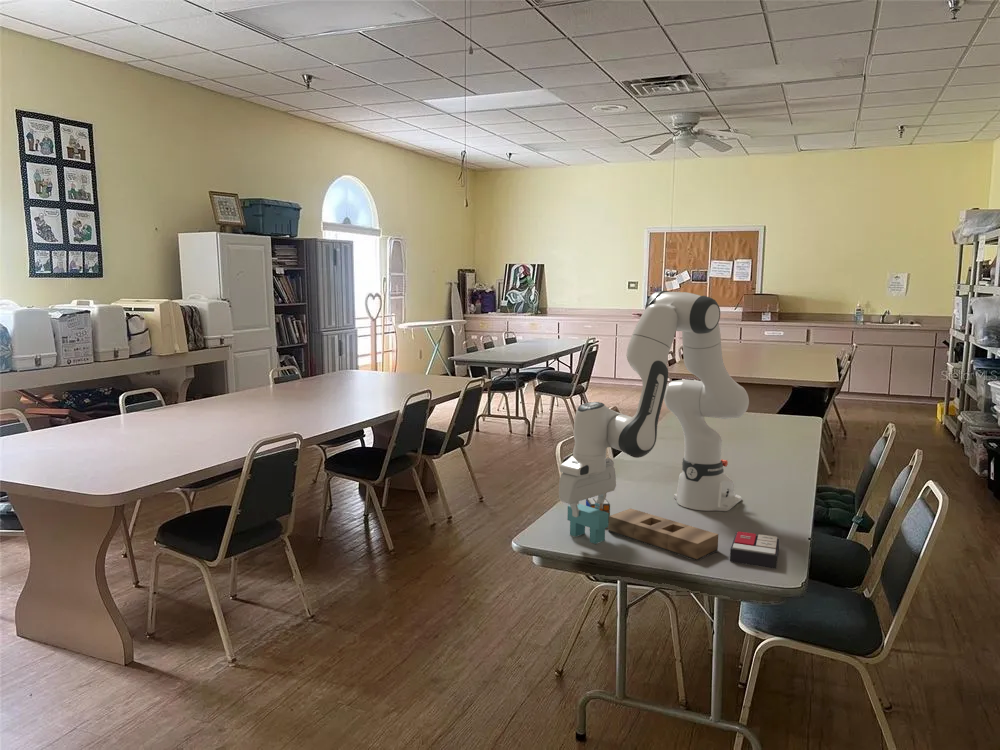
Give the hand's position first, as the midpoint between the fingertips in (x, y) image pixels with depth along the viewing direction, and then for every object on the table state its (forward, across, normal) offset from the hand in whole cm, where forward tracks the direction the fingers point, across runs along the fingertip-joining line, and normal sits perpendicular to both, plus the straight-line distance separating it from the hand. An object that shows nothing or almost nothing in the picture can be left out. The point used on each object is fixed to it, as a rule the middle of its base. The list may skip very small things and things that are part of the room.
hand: (587, 512), depth 194 cm
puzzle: (+7, -13, -7) cm, 17 cm away
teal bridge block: (+7, 0, 0) cm, 7 cm away
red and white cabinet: (+8, -23, +37) cm, 44 cm away
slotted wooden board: (+7, -13, +15) cm, 21 cm away
